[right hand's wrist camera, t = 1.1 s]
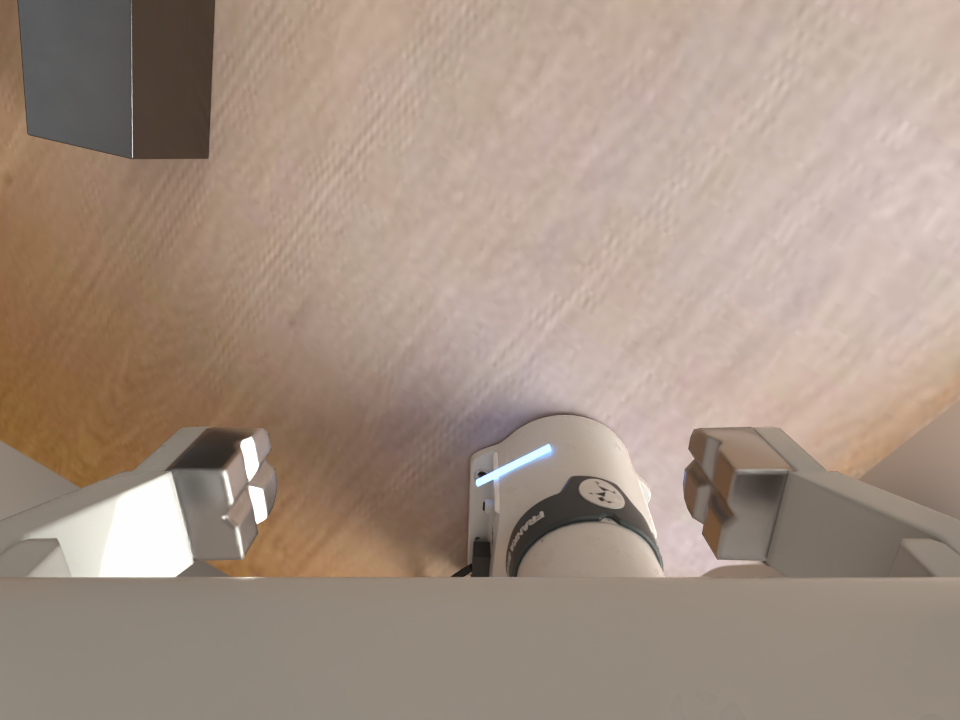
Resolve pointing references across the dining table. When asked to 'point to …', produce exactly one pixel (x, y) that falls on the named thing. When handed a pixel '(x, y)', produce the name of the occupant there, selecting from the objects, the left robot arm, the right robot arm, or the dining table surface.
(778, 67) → the dining table surface
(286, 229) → the dining table surface
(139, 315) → the dining table surface
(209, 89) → the box
